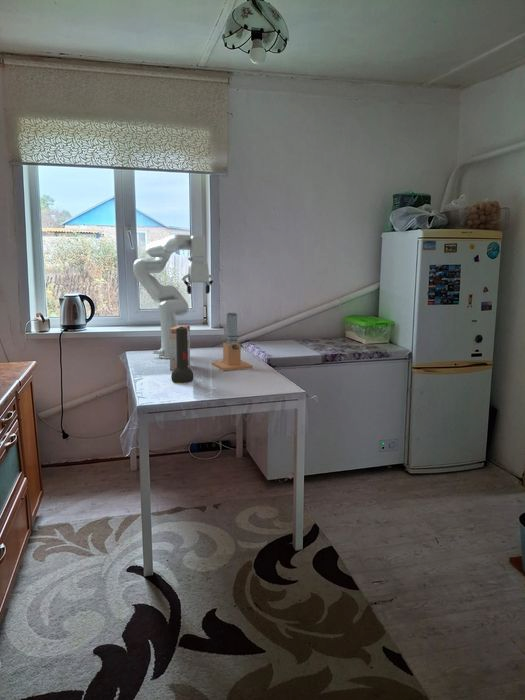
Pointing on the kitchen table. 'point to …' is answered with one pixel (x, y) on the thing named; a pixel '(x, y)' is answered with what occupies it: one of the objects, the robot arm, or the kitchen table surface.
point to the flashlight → (182, 358)
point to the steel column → (231, 328)
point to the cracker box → (173, 346)
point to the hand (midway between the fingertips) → (198, 293)
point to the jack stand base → (231, 358)
